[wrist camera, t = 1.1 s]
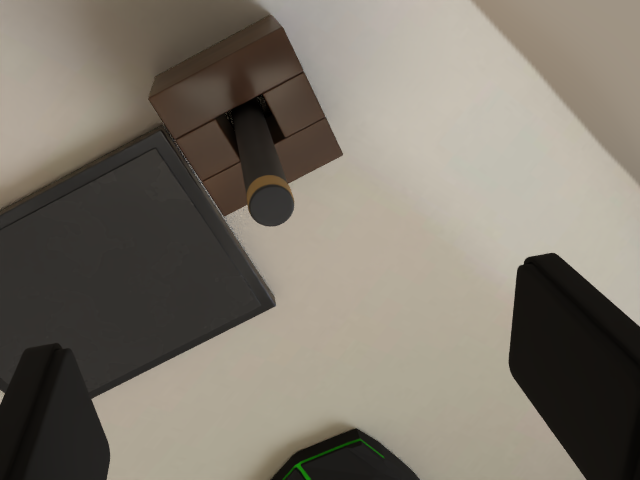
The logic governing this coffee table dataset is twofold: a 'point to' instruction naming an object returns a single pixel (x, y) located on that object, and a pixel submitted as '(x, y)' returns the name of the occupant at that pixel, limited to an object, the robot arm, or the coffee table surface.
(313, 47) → the coffee table surface
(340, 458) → the computer mouse
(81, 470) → the robot arm
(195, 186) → the tablet
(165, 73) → the holder
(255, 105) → the stylus
